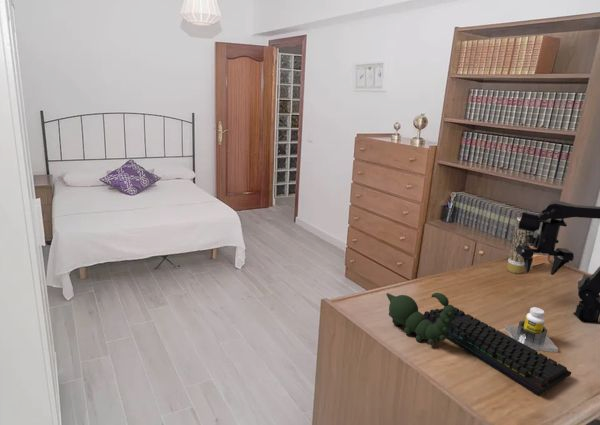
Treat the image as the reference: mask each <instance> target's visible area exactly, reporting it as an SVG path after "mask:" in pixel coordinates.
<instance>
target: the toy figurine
mask: <svg viewBox="0 0 600 425" xmlns="http://www.w3.org/2000/svg"><path fill="white" fill-rule="evenodd" d="M386 297H387V299H388V301H389V304H388V305H389V307H388V316H389V317H391V319H392V323H393V324H394V325H395V326H401V325H405V327H403V328H404V329H403V331H404V334H406V335H410V334H412V333H415V334H416V336H415V340H416V342H422V341H423V340H427V343H428V345H430V346H433V345H434V344H435V341H437V342H440V341H445V340H446V338H449V337H450V333H449V332H447V330H448V329H449V328H453V327H454V325H453V324H452V323H451V322H452V321H453V320H455V319H456V317H455V316H454V314H455V313H457V310H456V309H455V306H454V305H452V304H449V303H450V302H449V299H448V297H447V296H446V295H444V294H443V293H441V292H434V293H432V294H431V296H430V297H431V298H436V299H437V300H438V302H439V303H440V304H441V305H442V306H444V307H442V309H443V311H442V312H441V314H440V318H438V319H437V321H436V323H434V324H432V323H431V322H430V321H429V320H426V319H425V317H424V315H423V314H424V313H422V312H420V311H419V306H418V303H417V301H416V300H415V299H414V298H412V297H411V296H409V295H406V294H400V295H397V296H396V295H393V294H392V293H388V292H387V293H386ZM451 305H452V306H451ZM453 306H454V307H453Z"/></svg>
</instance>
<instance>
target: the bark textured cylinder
mask: <svg viewBox="0 0 600 425" xmlns="http://www.w3.org/2000/svg"><path fill="white" fill-rule="evenodd" d="M521 217H522V216H519V217H518V216H517V219H516V224H515V228H514V232H513V237H512V242H511V246H510V251H509V255H508V259H507V260H508V261H507V265H506V270H507V271H508V272H509V273H512V274H517V275H520V274H523V272H524V269H525V263H524V259H523V257H522V256H520V255H519V254H518V253H517V252H516V247H517V246H518V245H527V246H529V247H530V243H526V236H527V235H532V234H533V232H531V231H526V230H521V229H518V228H519V223H520V220H521Z"/></svg>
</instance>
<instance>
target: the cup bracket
mask: <svg viewBox="0 0 600 425" xmlns="http://www.w3.org/2000/svg"><path fill="white" fill-rule="evenodd" d="M524 323H525V320H521V321H519V323H518V326H517V325H508V324H507V325H506V324H505V325H504V330H505V332H506V333H507V335H508V336H510V337H511V338H513V339H515V340H517V341H519V342H521V343H523V344H524V345H526V346H528V347H530V348H532V349H534V350H535V351H537V352H539V351H541V352H551V353H558V352H559V348H558V347H557V346H556V345H555V343H554V342H553V341H552V340H551V338H550V337H549V336H548V335H547V333H548V329H547V328H546V327H545V325H544V326H543V330H542V333H534V332H531V331H528V330H527V329H525V328H523V327H524Z"/></svg>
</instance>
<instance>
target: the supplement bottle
mask: <svg viewBox="0 0 600 425" xmlns="http://www.w3.org/2000/svg"><path fill="white" fill-rule="evenodd" d="M544 315H545V311H544V310H543V309H542V308H539V307H535V306H533V307H530V309H529V312H528V313H527V314H526V315H525V323H524V327H523V328H525V329H527V330H528V331H531V332H534V333H542V330H543V326H544V327H545V324H546V323H545V322H546V319H545V317H544Z"/></svg>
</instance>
